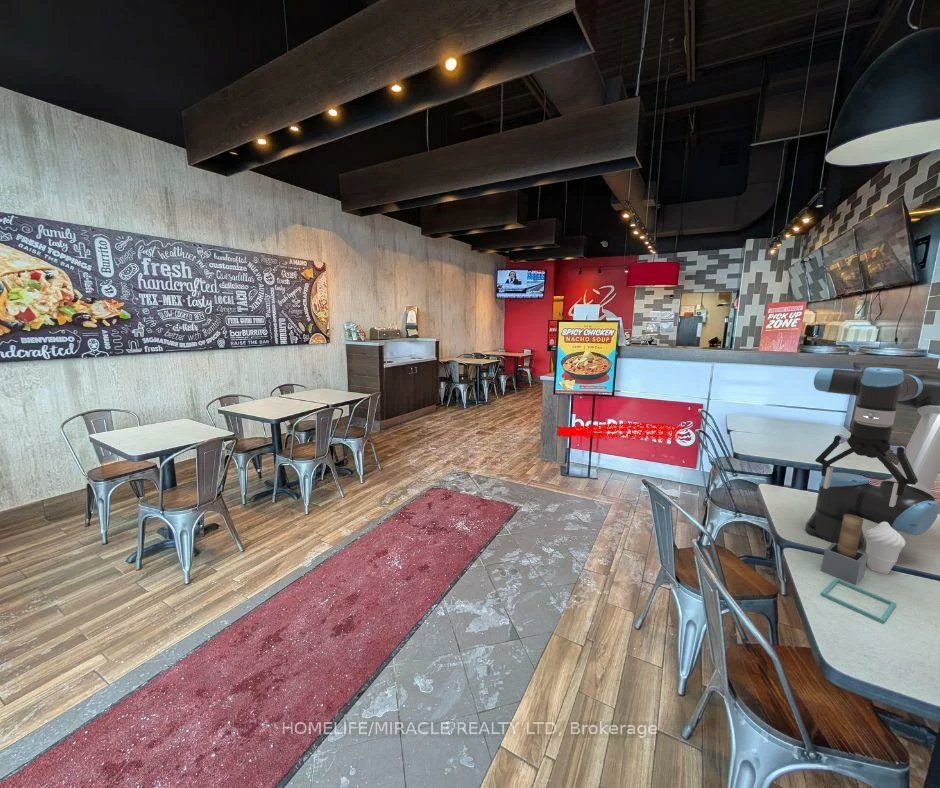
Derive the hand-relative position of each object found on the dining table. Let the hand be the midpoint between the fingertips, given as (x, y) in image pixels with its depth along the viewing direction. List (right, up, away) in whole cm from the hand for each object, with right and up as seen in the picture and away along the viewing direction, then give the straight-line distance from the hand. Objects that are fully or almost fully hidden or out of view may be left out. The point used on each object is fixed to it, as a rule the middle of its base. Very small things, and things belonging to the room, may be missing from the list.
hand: (857, 496), depth 109 cm
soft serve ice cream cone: (+13, -25, +7) cm, 29 cm away
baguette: (0, -24, +4) cm, 25 cm away
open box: (0, -25, +4) cm, 26 cm away
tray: (-7, -27, -7) cm, 29 cm away
